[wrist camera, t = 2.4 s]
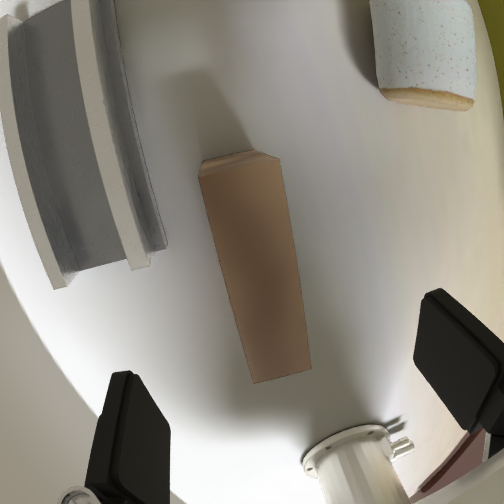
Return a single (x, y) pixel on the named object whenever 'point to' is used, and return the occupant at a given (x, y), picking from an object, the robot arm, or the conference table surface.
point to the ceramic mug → (425, 52)
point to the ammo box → (495, 35)
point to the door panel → (257, 260)
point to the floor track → (76, 140)
